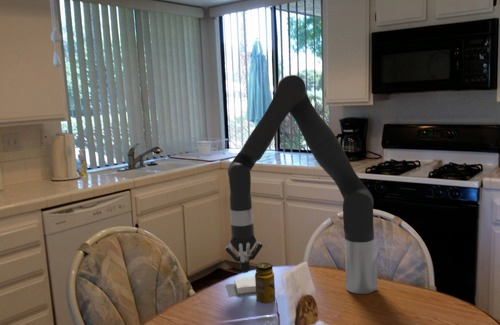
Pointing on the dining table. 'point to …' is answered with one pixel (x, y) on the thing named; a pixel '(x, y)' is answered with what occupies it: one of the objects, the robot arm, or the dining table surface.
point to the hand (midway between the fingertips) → (245, 271)
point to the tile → (245, 285)
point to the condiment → (264, 283)
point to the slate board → (235, 291)
